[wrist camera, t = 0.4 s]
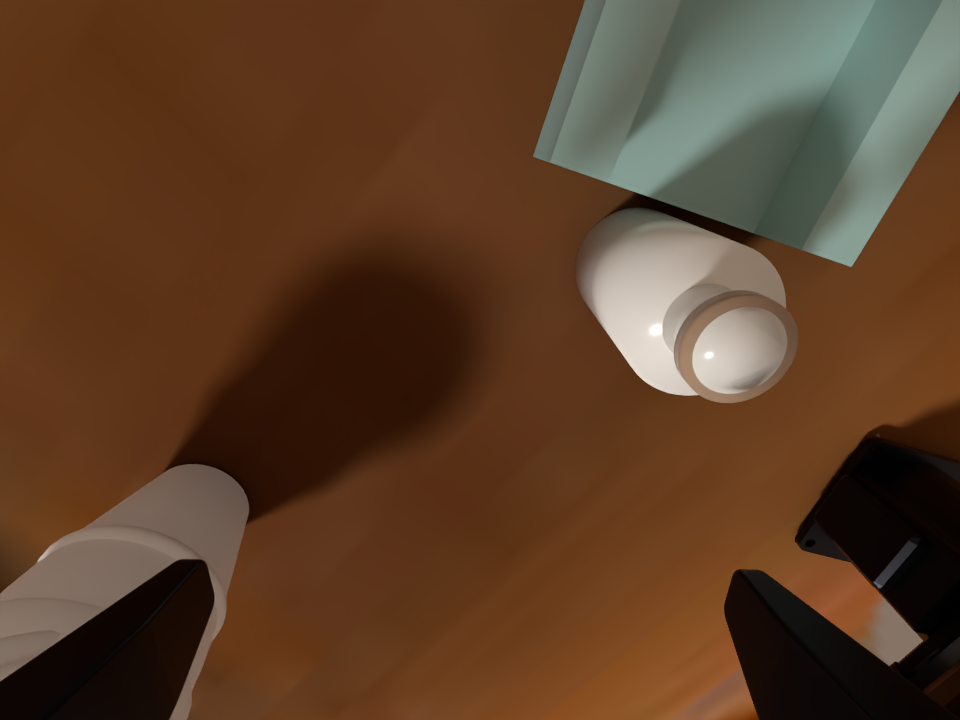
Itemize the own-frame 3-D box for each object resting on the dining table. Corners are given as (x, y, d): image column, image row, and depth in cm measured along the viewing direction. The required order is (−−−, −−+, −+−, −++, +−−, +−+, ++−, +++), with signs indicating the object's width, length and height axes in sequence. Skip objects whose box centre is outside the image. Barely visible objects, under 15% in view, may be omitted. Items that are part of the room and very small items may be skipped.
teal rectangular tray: (992, -150, 15) (1164, -242, 11) (778, 241, 19) (851, 266, 16) (687, -306, 13) (770, -470, 10) (532, 156, 18) (550, 162, 14)
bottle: (708, 228, 19) (874, 292, 11) (657, 333, 21) (772, 450, 13) (601, 191, 19) (699, 232, 11) (557, 302, 20) (615, 407, 12)
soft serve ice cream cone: (70, 491, 23) (-602, 1097, 9) (186, 387, 21) (-433, 943, 7) (217, 592, 26) (-104, 1182, 11) (332, 508, 24) (122, 1092, 9)
